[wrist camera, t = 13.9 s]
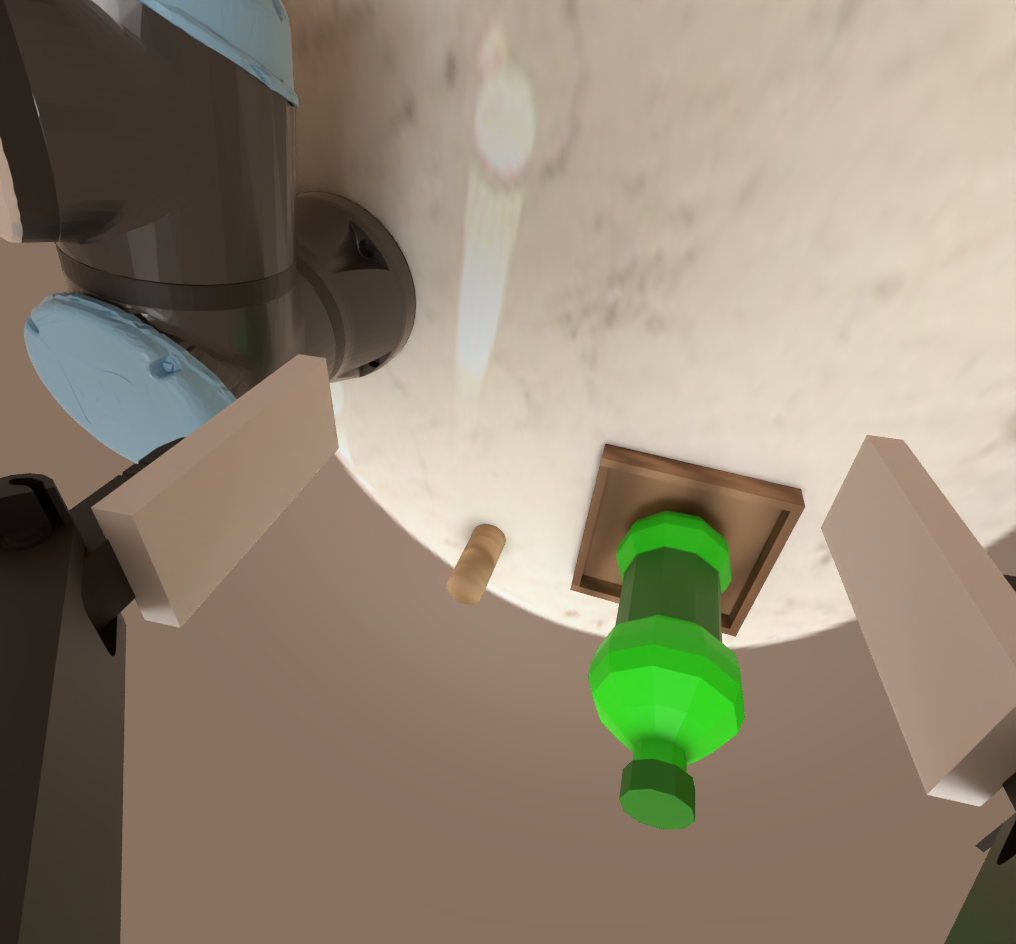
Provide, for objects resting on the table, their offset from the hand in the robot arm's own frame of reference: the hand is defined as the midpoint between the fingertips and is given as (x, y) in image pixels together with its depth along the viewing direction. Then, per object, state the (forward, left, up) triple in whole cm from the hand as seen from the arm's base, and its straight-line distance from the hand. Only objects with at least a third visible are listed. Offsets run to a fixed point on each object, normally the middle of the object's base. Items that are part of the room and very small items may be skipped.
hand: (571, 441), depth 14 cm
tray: (+9, -27, -31) cm, 42 cm away
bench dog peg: (-9, -33, -31) cm, 46 cm away
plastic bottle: (+8, -26, -30) cm, 41 cm away
